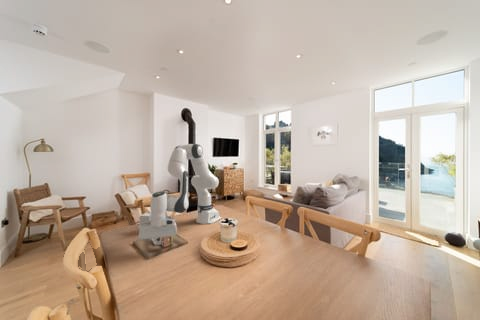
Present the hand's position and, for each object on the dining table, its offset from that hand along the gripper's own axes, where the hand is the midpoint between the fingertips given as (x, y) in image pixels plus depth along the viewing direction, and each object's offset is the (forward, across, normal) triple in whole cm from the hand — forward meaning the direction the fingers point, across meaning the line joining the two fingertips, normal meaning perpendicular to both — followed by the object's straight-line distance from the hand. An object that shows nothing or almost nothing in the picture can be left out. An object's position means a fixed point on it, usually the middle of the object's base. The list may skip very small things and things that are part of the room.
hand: (158, 244), depth 103 cm
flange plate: (+2, +1, +7) cm, 7 cm away
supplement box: (+4, -10, +33) cm, 34 cm away
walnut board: (+4, 0, +10) cm, 11 cm away
